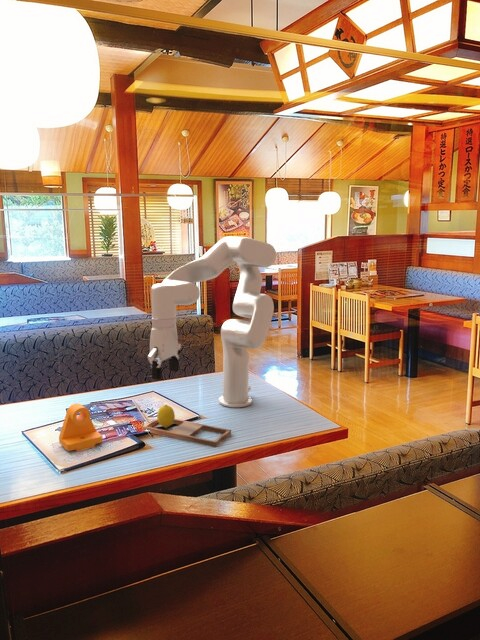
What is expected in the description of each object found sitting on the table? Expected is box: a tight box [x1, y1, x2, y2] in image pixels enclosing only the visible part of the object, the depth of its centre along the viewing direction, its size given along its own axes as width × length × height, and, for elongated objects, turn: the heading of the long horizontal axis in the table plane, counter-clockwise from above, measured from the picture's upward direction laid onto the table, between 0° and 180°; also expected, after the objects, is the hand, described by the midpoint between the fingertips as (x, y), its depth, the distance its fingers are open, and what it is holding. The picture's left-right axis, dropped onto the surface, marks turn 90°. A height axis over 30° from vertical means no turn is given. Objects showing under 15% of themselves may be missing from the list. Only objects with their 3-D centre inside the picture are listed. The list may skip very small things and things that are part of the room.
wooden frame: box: [141, 417, 232, 448], centre depth 163 cm, size 11×27×2 cm, turn 65°
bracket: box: [58, 403, 103, 452], centre depth 153 cm, size 11×7×12 cm, turn 129°
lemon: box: [157, 404, 176, 429], centre depth 166 cm, size 6×6×8 cm
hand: (165, 374), depth 164 cm, fingers open, 9 cm apart
